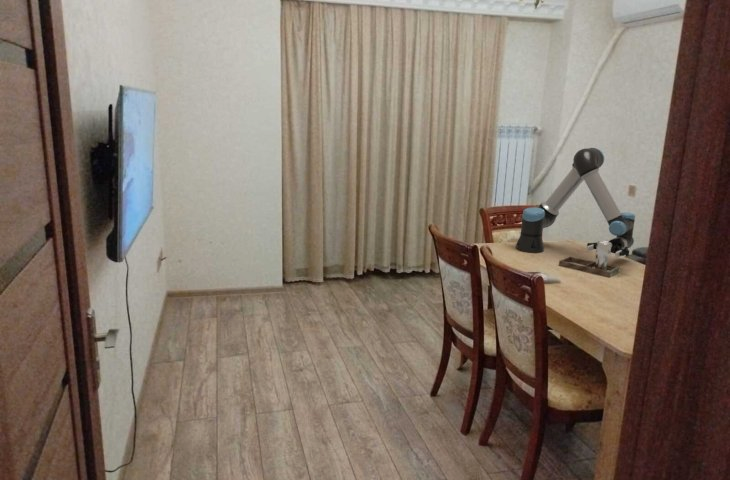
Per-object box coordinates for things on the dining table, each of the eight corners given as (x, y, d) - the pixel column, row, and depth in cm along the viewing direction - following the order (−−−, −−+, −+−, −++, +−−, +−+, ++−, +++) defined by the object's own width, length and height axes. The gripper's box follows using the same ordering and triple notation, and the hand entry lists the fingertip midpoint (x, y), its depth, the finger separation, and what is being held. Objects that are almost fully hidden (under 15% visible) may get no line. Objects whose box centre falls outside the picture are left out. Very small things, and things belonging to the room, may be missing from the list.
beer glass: (592, 272, 253) (596, 242, 249) (593, 268, 259) (597, 240, 255) (607, 274, 250) (612, 245, 246) (608, 271, 256) (613, 242, 252)
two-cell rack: (558, 265, 262) (559, 260, 262) (569, 261, 271) (569, 256, 271) (609, 277, 245) (609, 272, 245) (618, 272, 254) (619, 267, 254)
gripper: (641, 257, 257) (627, 265, 242) (591, 247, 274) (575, 254, 259) (644, 242, 255) (629, 250, 241) (593, 233, 272) (577, 239, 257)
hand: (601, 252), depth 250 cm, fingers open, 13 cm apart
